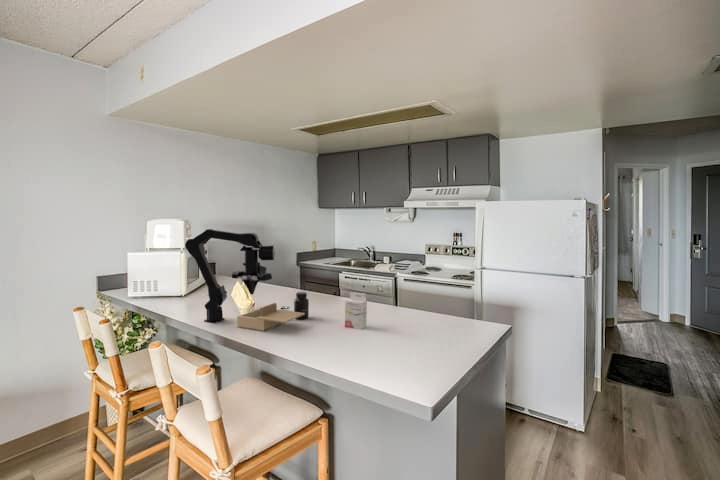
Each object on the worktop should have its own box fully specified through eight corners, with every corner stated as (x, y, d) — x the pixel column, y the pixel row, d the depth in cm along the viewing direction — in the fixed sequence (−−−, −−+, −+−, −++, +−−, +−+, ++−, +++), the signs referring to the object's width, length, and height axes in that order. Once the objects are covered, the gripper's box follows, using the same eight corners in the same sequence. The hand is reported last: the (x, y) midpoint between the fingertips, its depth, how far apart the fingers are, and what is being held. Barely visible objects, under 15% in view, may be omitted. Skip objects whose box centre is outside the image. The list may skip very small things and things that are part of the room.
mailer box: (237, 327, 161) (237, 316, 160) (258, 319, 174) (258, 308, 173) (263, 331, 155) (263, 319, 155) (283, 322, 168) (283, 311, 168)
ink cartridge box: (344, 327, 162) (344, 293, 161) (349, 324, 167) (349, 291, 166) (362, 329, 158) (362, 295, 158) (367, 326, 163) (367, 293, 162)
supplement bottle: (305, 320, 172) (305, 294, 171) (291, 319, 173) (291, 294, 172) (310, 316, 179) (310, 291, 178) (297, 315, 180) (297, 291, 179)
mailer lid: (256, 318, 156) (256, 309, 156) (277, 310, 169) (277, 301, 169) (285, 323, 150) (285, 313, 150) (305, 314, 163) (304, 305, 163)
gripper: (278, 259, 174) (279, 292, 175) (247, 257, 182) (247, 289, 183) (263, 262, 164) (264, 297, 165) (230, 260, 172) (231, 293, 173)
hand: (251, 294), depth 172 cm, fingers closed
